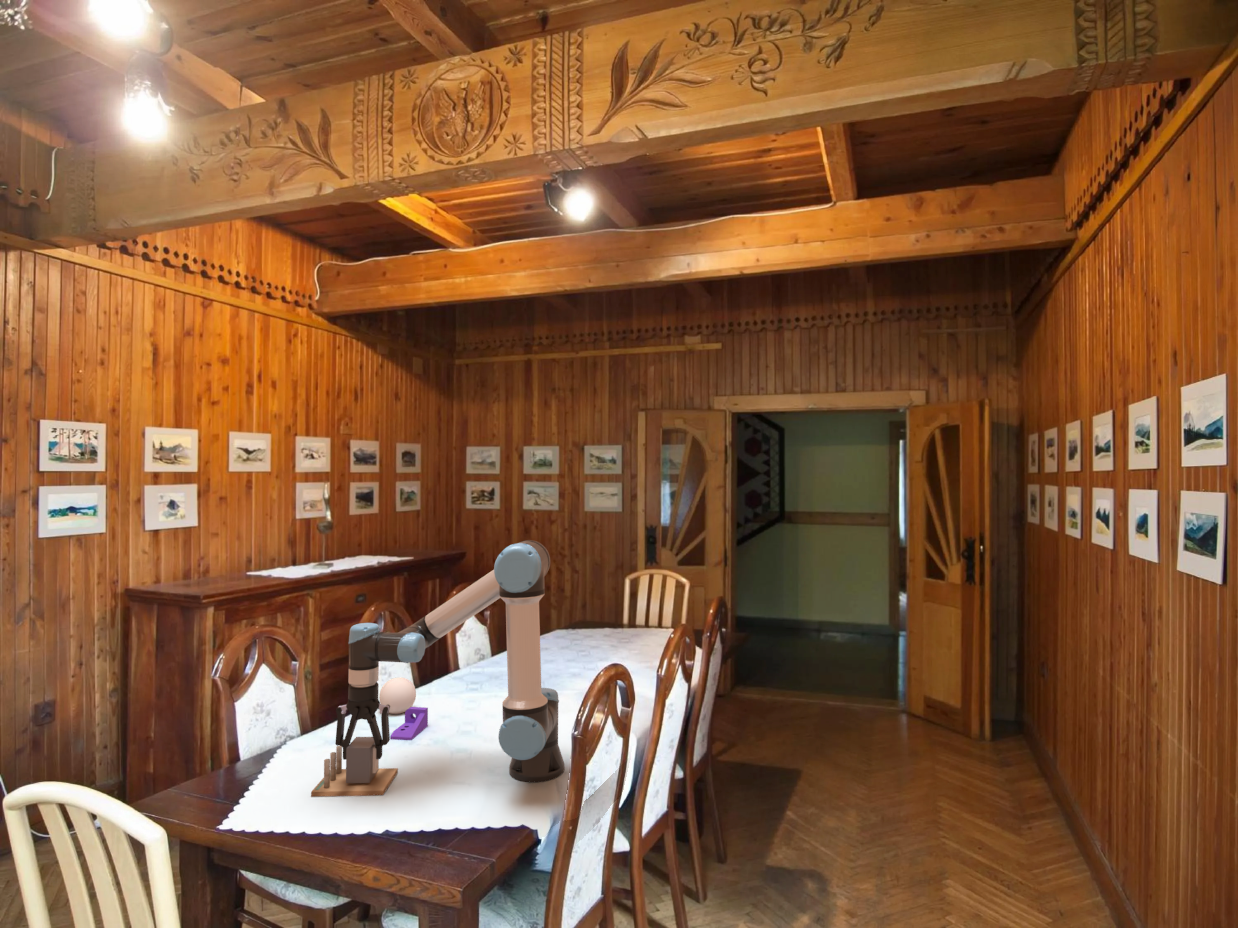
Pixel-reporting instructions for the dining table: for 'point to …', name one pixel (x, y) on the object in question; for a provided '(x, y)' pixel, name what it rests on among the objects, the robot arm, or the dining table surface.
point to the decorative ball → (398, 695)
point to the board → (337, 783)
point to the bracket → (411, 724)
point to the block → (360, 760)
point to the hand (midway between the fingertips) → (362, 770)
